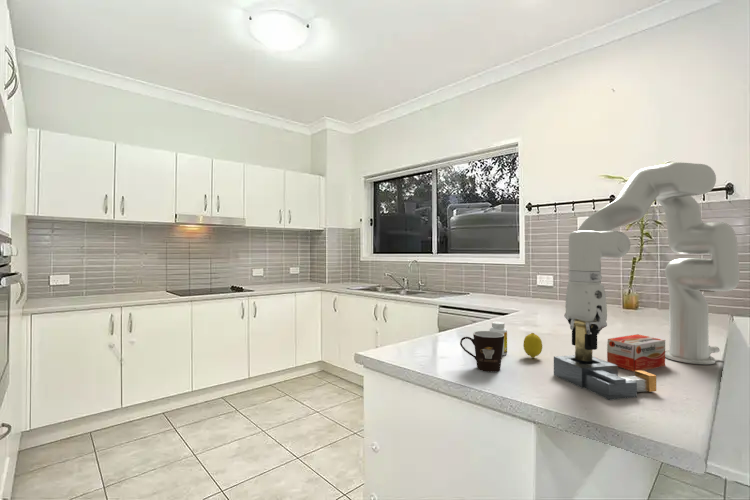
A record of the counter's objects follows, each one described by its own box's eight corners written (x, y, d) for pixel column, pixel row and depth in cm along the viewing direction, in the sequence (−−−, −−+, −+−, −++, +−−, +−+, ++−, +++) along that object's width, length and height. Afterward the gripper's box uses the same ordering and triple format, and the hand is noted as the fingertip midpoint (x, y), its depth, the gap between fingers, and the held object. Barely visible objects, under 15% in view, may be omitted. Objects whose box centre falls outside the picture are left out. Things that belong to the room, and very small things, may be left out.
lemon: (544, 361, 118) (544, 335, 118) (525, 360, 119) (525, 334, 119) (540, 356, 123) (540, 331, 123) (522, 355, 124) (522, 330, 124)
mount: (586, 372, 107) (586, 354, 107) (644, 396, 89) (644, 375, 89) (553, 374, 105) (553, 356, 105) (606, 400, 87) (606, 378, 87)
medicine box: (634, 373, 106) (634, 344, 107) (606, 365, 114) (606, 338, 114) (666, 366, 113) (666, 339, 113) (637, 359, 120) (637, 333, 120)
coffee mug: (509, 368, 110) (509, 333, 110) (495, 375, 104) (495, 338, 104) (472, 360, 118) (472, 328, 118) (458, 366, 112) (458, 332, 112)
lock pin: (641, 385, 95) (641, 370, 95) (656, 391, 91) (656, 375, 91) (614, 387, 94) (614, 372, 94) (628, 393, 90) (628, 377, 90)
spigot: (584, 356, 103) (585, 319, 103) (597, 361, 99) (598, 322, 99) (569, 356, 102) (570, 319, 102) (582, 361, 98) (583, 322, 98)
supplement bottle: (502, 351, 129) (502, 320, 129) (510, 355, 124) (510, 324, 124) (486, 351, 128) (486, 321, 128) (494, 356, 123) (494, 324, 123)
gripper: (623, 279, 93) (622, 355, 93) (574, 275, 109) (574, 339, 109) (596, 280, 92) (596, 356, 92) (551, 275, 108) (550, 340, 108)
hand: (584, 346), depth 100 cm, fingers closed on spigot, 4 cm apart
